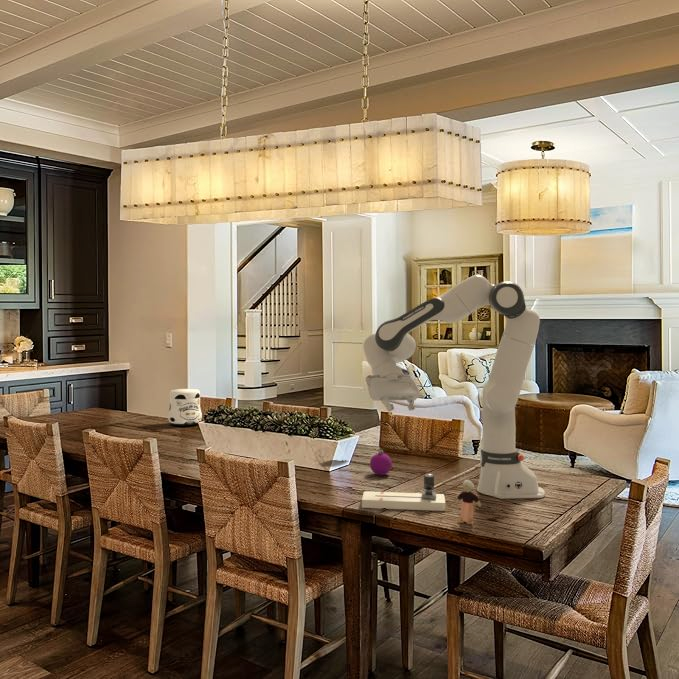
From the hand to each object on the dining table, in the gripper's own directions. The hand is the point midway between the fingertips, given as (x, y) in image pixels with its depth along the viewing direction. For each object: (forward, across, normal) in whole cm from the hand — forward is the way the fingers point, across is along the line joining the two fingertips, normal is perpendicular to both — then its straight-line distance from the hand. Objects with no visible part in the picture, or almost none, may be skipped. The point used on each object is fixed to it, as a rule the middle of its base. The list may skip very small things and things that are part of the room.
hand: (402, 409), depth 233 cm
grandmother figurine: (+45, -3, -9) cm, 46 cm away
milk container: (-82, -5, +145) cm, 167 cm away
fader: (+30, -1, +4) cm, 30 cm away
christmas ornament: (+7, +12, +36) cm, 38 cm away
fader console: (+29, -6, +10) cm, 32 cm away
